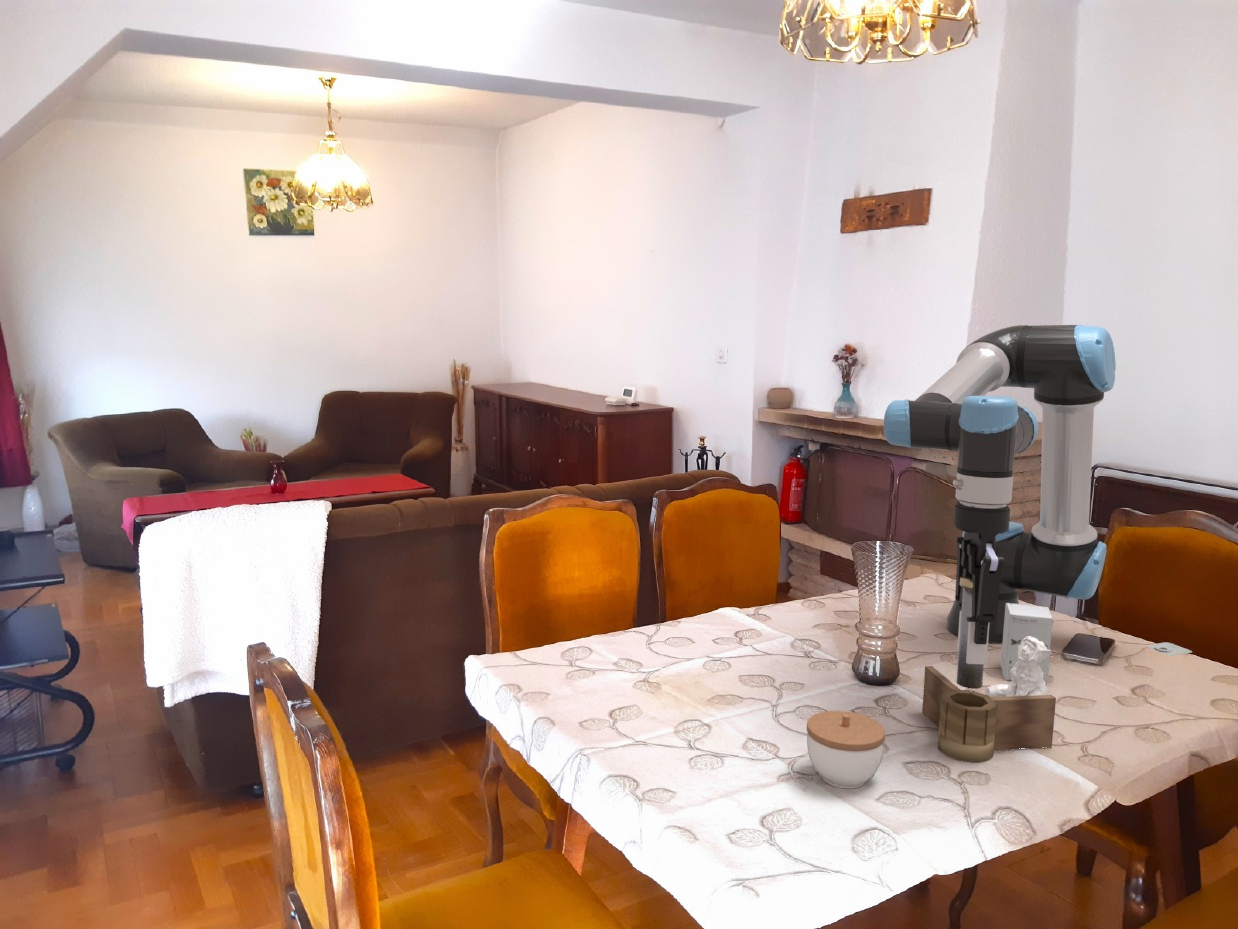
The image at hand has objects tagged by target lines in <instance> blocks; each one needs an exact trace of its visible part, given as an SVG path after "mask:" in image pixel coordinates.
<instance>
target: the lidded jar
mask: <svg viewBox="0 0 1238 929" xmlns="http://www.w3.org/2000/svg"><path fill="white" fill-rule="evenodd" d="M806 733H807V734H806V744H807V752H808V757H809V761H810V762H811V764H812V767H813V768H814V769H815V771H816V772H817V773H818V774H819V775H820V777H821V779H822V780H823V781H824V782H825V783H826V784H828V785H830V786H832V787H835V788H839V789H845V790H847V789H848V790H850V789H851V790H852V789H854V790H855V789H859V788H861V787H863V786H864V785H865V784H866V782H868V781H869V780H870V779H872V778H873V777H874V776H875V774H876V773H877V771H878V769H879V768H880V766H881V762H882V760H883V754H884V748H885V747H884V746H885V739H886V729H885V728H884V726H883V725H882V724H881V722H879V721H877V720H876V719H874V718H872V717H870V716H867V715H865V714H860V713H857V712H853V711H845V710H828V711H822V712H821V711H820V712H818V713H815V714H814V715H812V716H810V717H809V718H808V719H807V720H806Z"/></svg>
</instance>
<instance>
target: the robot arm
mask: <svg viewBox="0 0 1238 929" xmlns="http://www.w3.org/2000/svg"><path fill="white" fill-rule="evenodd" d="M1116 364H1117V363H1116V354H1115V347H1114V342H1113V338H1112V337H1111V334H1110V333H1109V331H1108V330H1107V329H1106V328H1105V327H1103V326H1095V325H1093V326H1091V325H1083V324H1060V325H1059V324H1058V325H1057V324H1055V325H1054V324H1053V325H1050V324H1049V325H1047V324H1045V325H1042V324H1041V325H1029V324H1028V325H1026V324H1025V325H1023V324H1020V325H1012V326H1011V325H1010V326H1007V327H1003V328H1000V329H997V330H995V331H992V332H989V333H987V334H985V335H983V336H981V337H979V338H977V339H975V340H974V341H973V342H971V343H970V344H968V345H967V346H966V347H965V348H964V349H962V350H961V352H960V353H959V354H958V356H957V358H956V362H955V364H954V365H953V366H952V367H951V368H950V369H948V370H947V371H945V373H943V375H941V377H940V378H938V379H937V380H936V381H935V382H934V383H933V384H931V386H929V387H928V388H927V389H926V390H925V391H924V392H923V393H922V394H920V395H919V397H917V398H916V399H915V400H910V399H904V400H903V399H899V400H898V399H896V400H893V401H891V402H890V403H889V404H888V406H887V407H886V410H885V411H884V415H883V416H884V417H883V434H884V437H885V440H886V441H887V443H888V444H890V445H893V446H898V447H904V448H905V447H906V448H908V449H925V450H926V449H927V450H938V451H953V452H957V467H956V479H953V480H952V485H953V487H955V498H956V499H957V500H958V502H956V503H955V504H954V506H953V508H954V509H953V521H952V522H953V523H952V524H953V527H954V529H957V530H959V531H961V532H962V534H961V535H962V536H957V537H956V549H957V550H956V551H957V554H956V555H957V556H956V573H955V574H956V576H955V577H956V578H955V596H954V598H955V599H954V600H953V604H952V606H951V607H950V611H949V613H948V615H947V620H946V628H947V630H948V631H949V632H950V633H952V634H953V635H955V636H957V647H956V650H957V651H956V652H957V653H958V654H959V640H960V626H961V611H962V596H963V588H962V587H961V586H960V577H963V576H965V577H972V583H973V590H972V617H967V621H968V622H969V626H968V641H967V655H966V663H967V664H984V665H987V664H988V663H987V662H988V650H989V644H1002V643H1003V630H1004V618H1005V605H1006V603H1012V604H1020V602H1019V590H1023V591H1027V592H1034V593H1039V594H1045V595H1051V596H1055V597H1062V598H1065V599H1075V600H1088V599H1091V598H1092V597H1093V596H1094V595H1095V592H1096V590H1097V589H1098V585H1099V582H1100V581H1101V577H1102V572H1103V570H1104V565H1105V562H1106V556H1107V548H1108V547H1107V544H1106V543H1104V542H1103V541H1098V531H1097V530H1096V529H1095V528H1094V526H1092V525H1091V524H1090V511H1091V510H1090V507H1091V506H1090V505H1091V488H1092V487H1091V483H1092V462H1093V461H1092V460H1093V440H1094V438H1093V436H1094V435H1093V434H1094V419H1095V418H1094V416H1095V408H1096V406H1098V405H1099V404H1100V403H1101V402H1103V401H1104V398H1105V393H1107V392H1110V391H1111V390H1112V389H1113V387H1114V385H1115V381H1116V372H1115V371H1116ZM1002 387H1006V388H1007V387H1009V388H1010V387H1011V388H1025V389H1033V400H1034V401H1035V402H1036V403H1037V404H1038V405H1039V406H1040V407H1041V408H1042V418H1041V419H1042V420H1041V421H1042V423H1041V461H1040V462H1041V464H1040V466H1041V468H1040V471H1041V472H1040V502H1039V503H1040V507H1039V508H1040V510H1039V512H1040V513H1039V521H1038V522H1037V523H1035V524H1034V525H1033V526H1032V528H1031V531H1030V532H1025V527H1024V525H1023V524H1022V523H1020V522H1015V521H1010V517H1011V508H1010V506H1008V504H1010V503H1011V502H1012V500H1013V499H1012V498H1013V485H1014V463H1015V462H1014V460H1015V455H1017V454H1021V453H1024V452H1025V451H1026V450H1027V449H1028V448H1029V447H1030V446H1032V445H1033V444H1034V442H1035V441H1036V439H1037V437H1038V434H1039V423H1038V419H1037V418H1036V416H1035V415H1034V413H1033V412H1032V411H1031V410H1029V409H1028V408H1027V407H1025V406H1022V405H1019V404H1018V401H1017V400H1016V399H1015V398H1013V397H1010V396H1000V395H986V394H988V393H989V392H990V393H991V392H993V391H996V390H997V389H998V390H999V388H1002Z"/></svg>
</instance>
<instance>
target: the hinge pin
mask: <svg viewBox="0 0 1238 929" xmlns="http://www.w3.org/2000/svg"><path fill="white" fill-rule="evenodd" d="M960 586H961V587H962V588H963V596H962V611H961V626H960V640H959V653H958V658H957V672H956V684H957V685H959V687H962V688H966V689H971V690H972V689H981V688H982V687H983V683H984V673H985V672H984V670H985V664H967V663H966V655H967V641H968V626H969V622H968V621H967V617H972V590H973V583H972V577H965V576H963V577H960Z"/></svg>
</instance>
